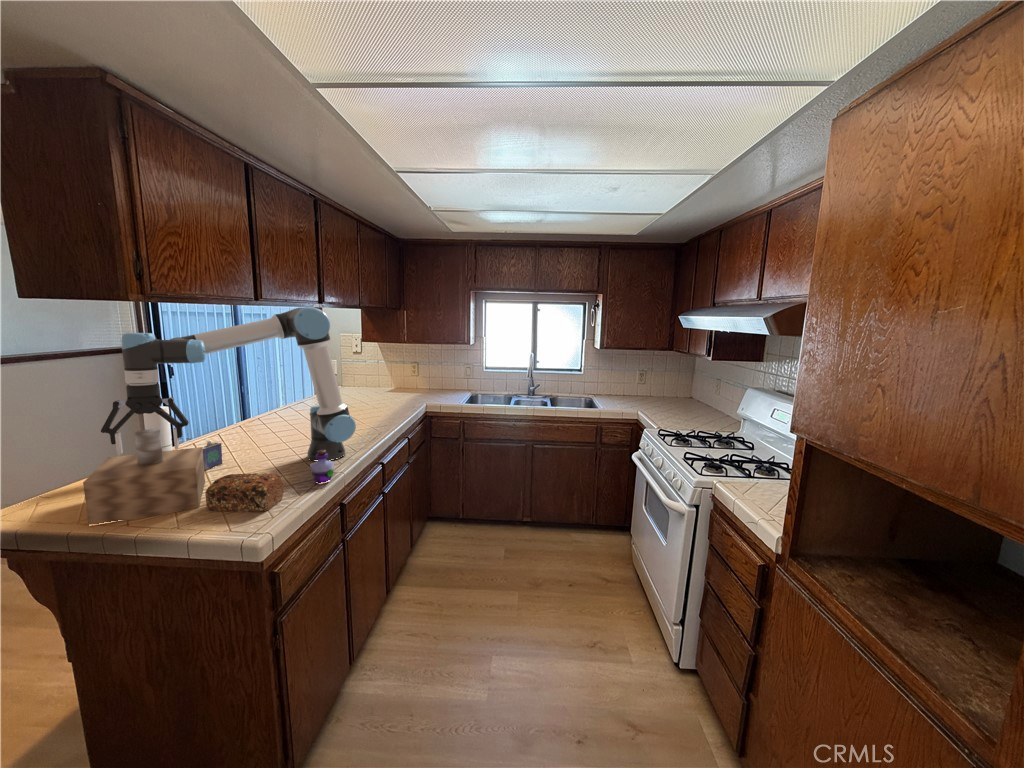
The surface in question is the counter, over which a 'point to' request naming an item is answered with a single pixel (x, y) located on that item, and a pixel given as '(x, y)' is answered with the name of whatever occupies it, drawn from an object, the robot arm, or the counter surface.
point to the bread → (245, 492)
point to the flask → (212, 455)
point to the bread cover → (145, 482)
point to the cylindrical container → (160, 427)
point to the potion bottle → (322, 467)
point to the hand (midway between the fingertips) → (149, 451)
